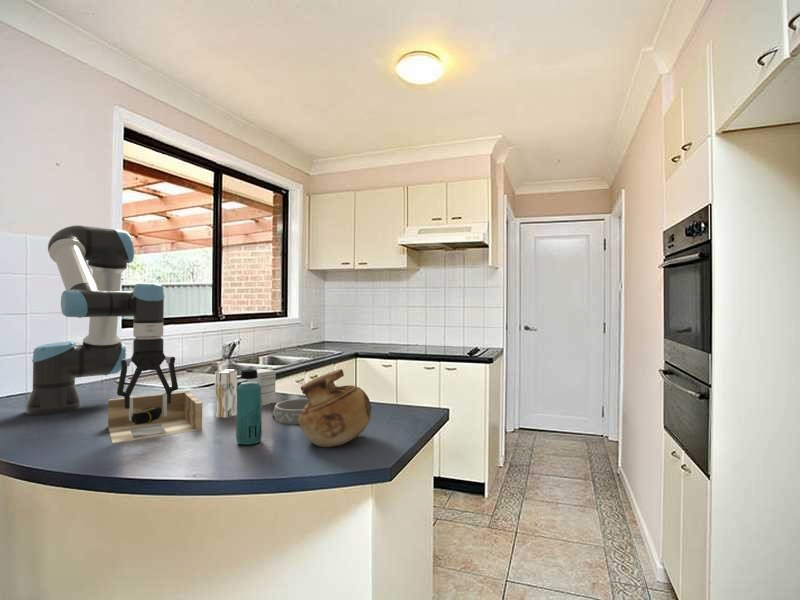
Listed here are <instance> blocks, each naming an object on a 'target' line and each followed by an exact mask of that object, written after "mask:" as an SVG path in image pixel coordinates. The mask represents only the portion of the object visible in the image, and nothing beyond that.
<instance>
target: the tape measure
mask: <svg viewBox="0 0 800 600" xmlns="http://www.w3.org/2000/svg"><path fill="white" fill-rule="evenodd" d="M161 414H162V409H161V407H150V408H145V409H141V410H137V411H135V412H134V413H133V415H132V421H133V422H134V423H135V424H149V423H151V421H154V420H156V419H158V418H159V417H160V415H161Z"/></svg>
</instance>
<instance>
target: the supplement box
mask: <svg viewBox="0 0 800 600" xmlns="http://www.w3.org/2000/svg"><path fill="white" fill-rule="evenodd" d="M256 370H257V378H255V379H246V382H258V383H259V384H260V385H261V386H262V388H261V401H262V402H261V407H263V406H267V404H268V405H271V404H270V403H272V404H275V403H276V373H277V372H276V370H273V369H267V368H266V369H265V368H259V369H256ZM274 402H275V403H274ZM262 405H263V406H262Z"/></svg>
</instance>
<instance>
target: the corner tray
mask: <svg viewBox="0 0 800 600" xmlns="http://www.w3.org/2000/svg"><path fill="white" fill-rule="evenodd" d="M107 403H108V404H107V427H108V428H107V429H108V432H109V437H110V441H111V444H120V443H125V442H126V443H127V442H132V441H138V440H144V439H151V438H152V439H153V438H157V437H163V436H168V435H169V436H170V435H175V434H181V433H182V434H183V433H189V432H194V431H195V432H196V431H201V430H203V402H202V401H201V400H200V399H198V398H197V397H196V396H195V395H194V394H193V393H191V392H190V391H187V390H186V391H178V392H172V393H171V403H170V404H167V416H165V417H164V416H163V393H159V394H152V395H139V396H133V413H134V412H135V411H137V410H141V409H145V408H150V407H161V409H162V414H161V415H160V417H159V418H158V419H156V420H154V421H151V423H149V424H135V423H134V422H133V421H130V420H129V409H126V408H125V406H124V397H123V398H122V397H121V398H120V397H119V398H111V399H108V401H107Z"/></svg>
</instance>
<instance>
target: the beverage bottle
mask: <svg viewBox="0 0 800 600" xmlns="http://www.w3.org/2000/svg"><path fill="white" fill-rule="evenodd" d="M255 378H257V369H253V368H250V369H249V368H248V369H242V370H241V371H240V379H241V380H247V379H255ZM261 388H262V386H261V385H260V384H259V383H258V382H247V381H243V382H241V383H240V384H238V385H237V393H236V421H235V423H236V428H235V429H236V434H235V437H236V442H237V444H240V445H253V444H254V445H255V444H257V443H260V442H261V441H262V435H263V431H262V429H263V426H262V417H263V415H262V411H263V410H262V409H263V407H262V406H261V402H262V401H261Z"/></svg>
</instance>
